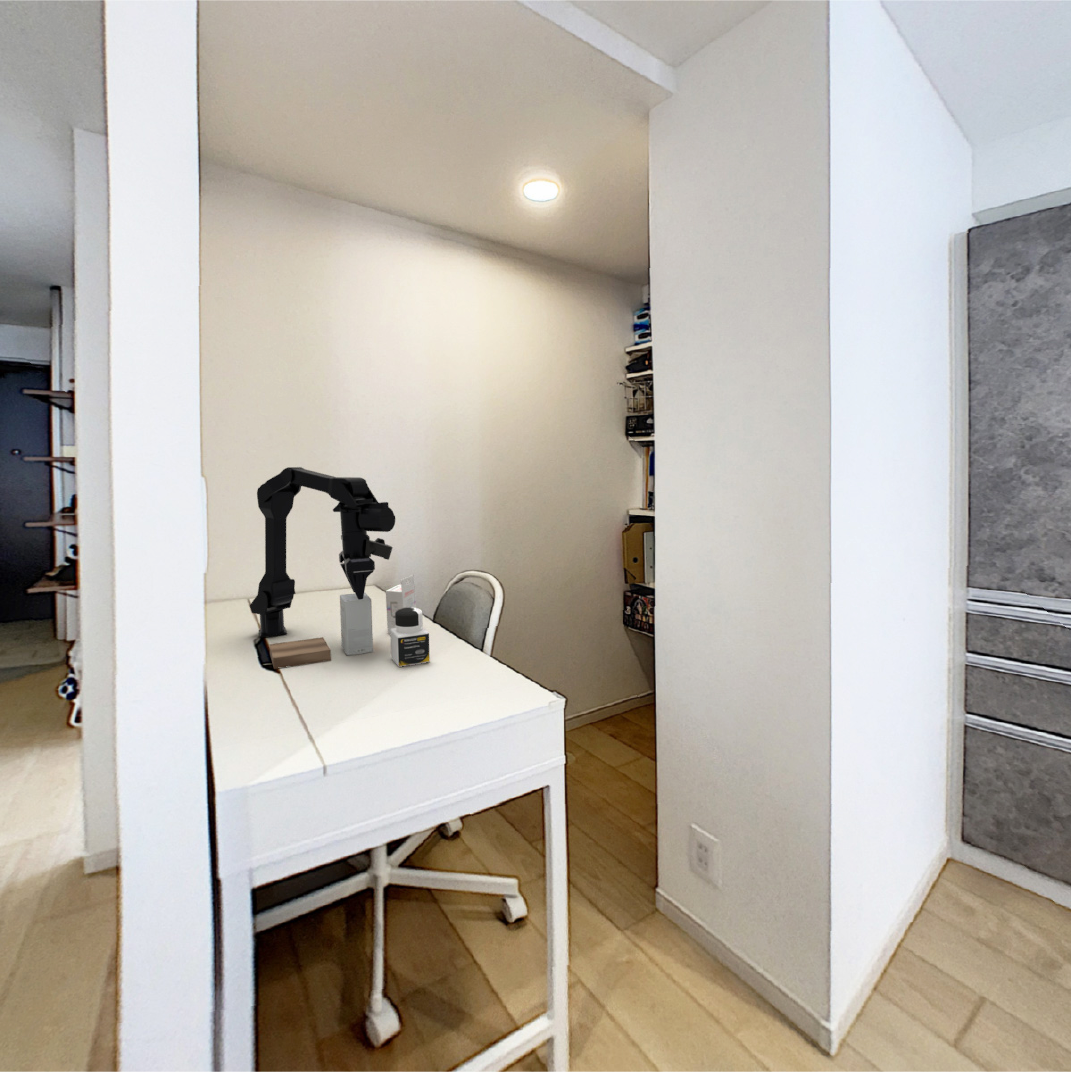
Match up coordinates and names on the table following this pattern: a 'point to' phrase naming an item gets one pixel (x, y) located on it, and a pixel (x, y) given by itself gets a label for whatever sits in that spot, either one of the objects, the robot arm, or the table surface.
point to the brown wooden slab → (299, 652)
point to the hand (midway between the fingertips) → (358, 595)
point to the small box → (356, 624)
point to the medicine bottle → (409, 638)
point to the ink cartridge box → (399, 599)
